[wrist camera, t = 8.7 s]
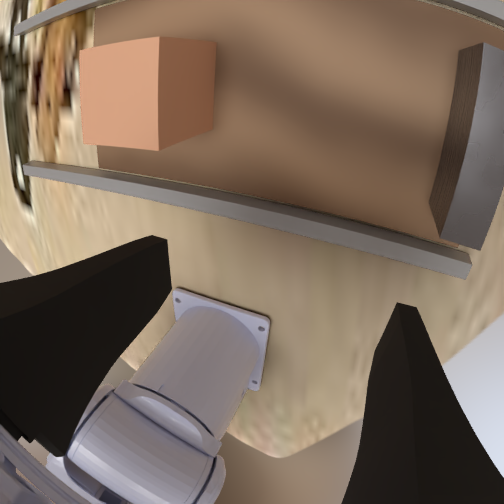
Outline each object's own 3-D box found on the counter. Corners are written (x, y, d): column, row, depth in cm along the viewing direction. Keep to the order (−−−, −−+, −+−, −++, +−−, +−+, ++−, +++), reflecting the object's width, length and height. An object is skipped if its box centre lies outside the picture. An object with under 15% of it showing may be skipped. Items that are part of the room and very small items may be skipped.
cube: (212, 129, 17) (158, 150, 13) (142, 123, 18) (83, 143, 14) (216, 42, 14) (159, 36, 10) (142, 47, 16) (79, 50, 12)
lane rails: (462, 268, 16) (465, 279, 15) (33, 170, 26) (24, 174, 25) (520, 18, 8) (529, 15, 7) (24, 24, 17) (14, 26, 17)
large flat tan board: (456, 243, 15) (471, 291, 12) (103, 165, 22) (58, 187, 18) (503, 33, 9) (540, 22, 5) (100, 9, 15) (49, 9, 12)
